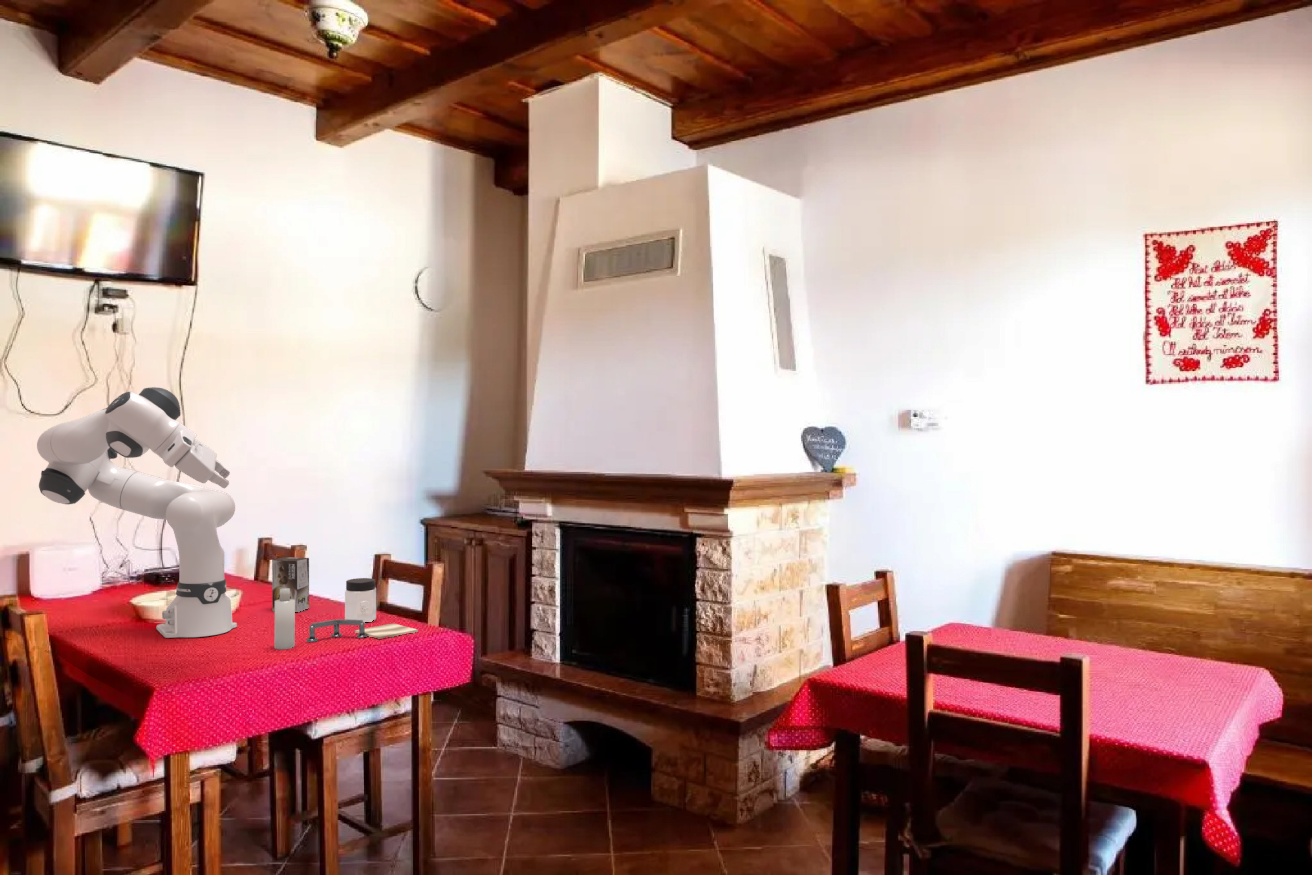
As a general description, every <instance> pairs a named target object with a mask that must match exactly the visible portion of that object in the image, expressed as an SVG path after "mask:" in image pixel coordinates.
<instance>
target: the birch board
mask: <svg viewBox="0 0 1312 875" xmlns="http://www.w3.org/2000/svg"><path fill="white" fill-rule="evenodd" d="M418 630H419V629H416V628H413V627H409V626H405V625H403V624H402V625H401V624H397V623H387V624H383V625H376V626H371V627H370V626H369V627H365V634H367V636H369V637H368V638H370V637H375V638H378V639H381V638H385V637H392V638H395V637H394V636H397V637H399V636H398V635H402V634H406V633H413V634H416V633H415V632H418ZM354 633H355V634H356V633H359V629H355V630H354ZM418 633H419V632H418ZM402 636H403V635H402Z"/></svg>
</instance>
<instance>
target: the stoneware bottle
mask: <svg viewBox="0 0 1312 875" xmlns="http://www.w3.org/2000/svg"><path fill="white" fill-rule="evenodd" d="M295 619H296V613H295V600H294V599H290V588H282V589H280V600H276V601H275V612H274V649H275V650H290V649H293V648H295V647H294V646H296V642H295V641H296V637H295V636H296V633H295V632H296V620H295ZM292 647H293V648H292Z"/></svg>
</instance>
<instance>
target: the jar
mask: <svg viewBox="0 0 1312 875" xmlns="http://www.w3.org/2000/svg"><path fill="white" fill-rule="evenodd" d="M345 582H346V583H345V585H346V586H345V587H346V588H345V590H344V619H348V620H363V622H372V621H373V620H374V621H376V620H377V587H376V579H375V578H372V577H371V578H369V577H368V578H367V577H363V578H362V577H360V578H359V577H358V578H351V579H347V580H346V581H345ZM374 621H373V622H374ZM373 622H372V623H373Z"/></svg>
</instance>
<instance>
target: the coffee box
mask: <svg viewBox="0 0 1312 875" xmlns="http://www.w3.org/2000/svg"><path fill="white" fill-rule="evenodd" d="M271 572H272V573H271V576H272V577H271V578H272V582H271V583H272V584H271V585H272V586H271V587H272V590H271V591H272V609H271V610H272V611H271V612H273V613H275V601H276V600H280V589H282V588H290V599H294V600H295V612H298V613H301V612H304V611H306V610H305V609H308V608H309V609H310V558H309V557H293V556H291V557H290V556H289V557H279V558H276V559H272V560H271ZM309 609H308V610H309ZM303 610H304V611H303ZM300 611H301V612H300Z"/></svg>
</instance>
